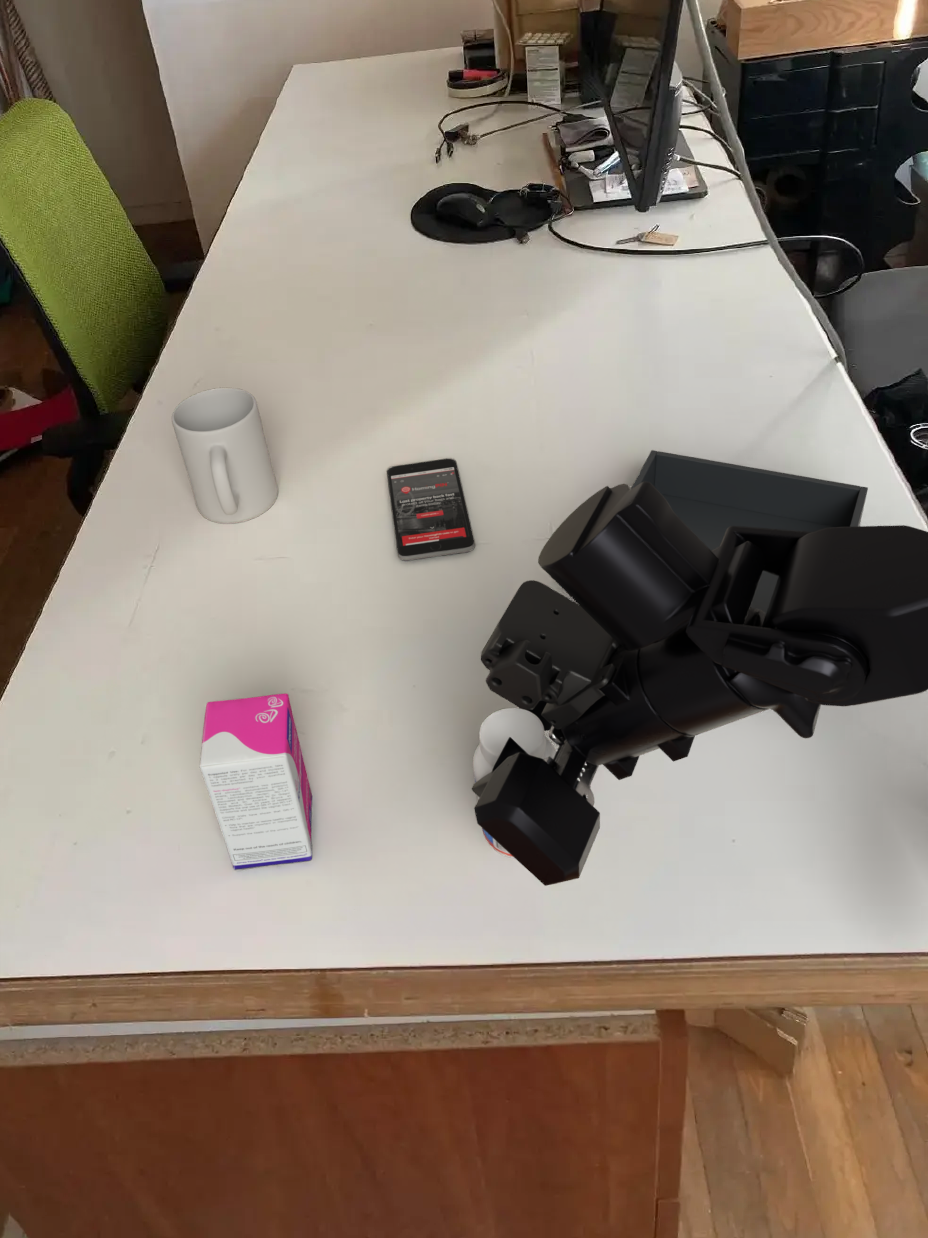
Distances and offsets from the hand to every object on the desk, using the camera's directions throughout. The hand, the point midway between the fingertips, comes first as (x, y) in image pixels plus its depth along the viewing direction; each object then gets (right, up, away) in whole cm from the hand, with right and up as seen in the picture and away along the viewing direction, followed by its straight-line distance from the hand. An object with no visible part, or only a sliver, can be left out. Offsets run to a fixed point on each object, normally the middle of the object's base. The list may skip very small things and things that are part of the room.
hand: (495, 757), depth 64 cm
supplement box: (-15, -7, +9) cm, 19 cm away
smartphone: (-4, +17, +37) cm, 41 cm away
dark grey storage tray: (+22, +11, +25) cm, 35 cm away
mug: (-23, +17, +40) cm, 50 cm away
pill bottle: (+2, -6, +4) cm, 7 cm away
